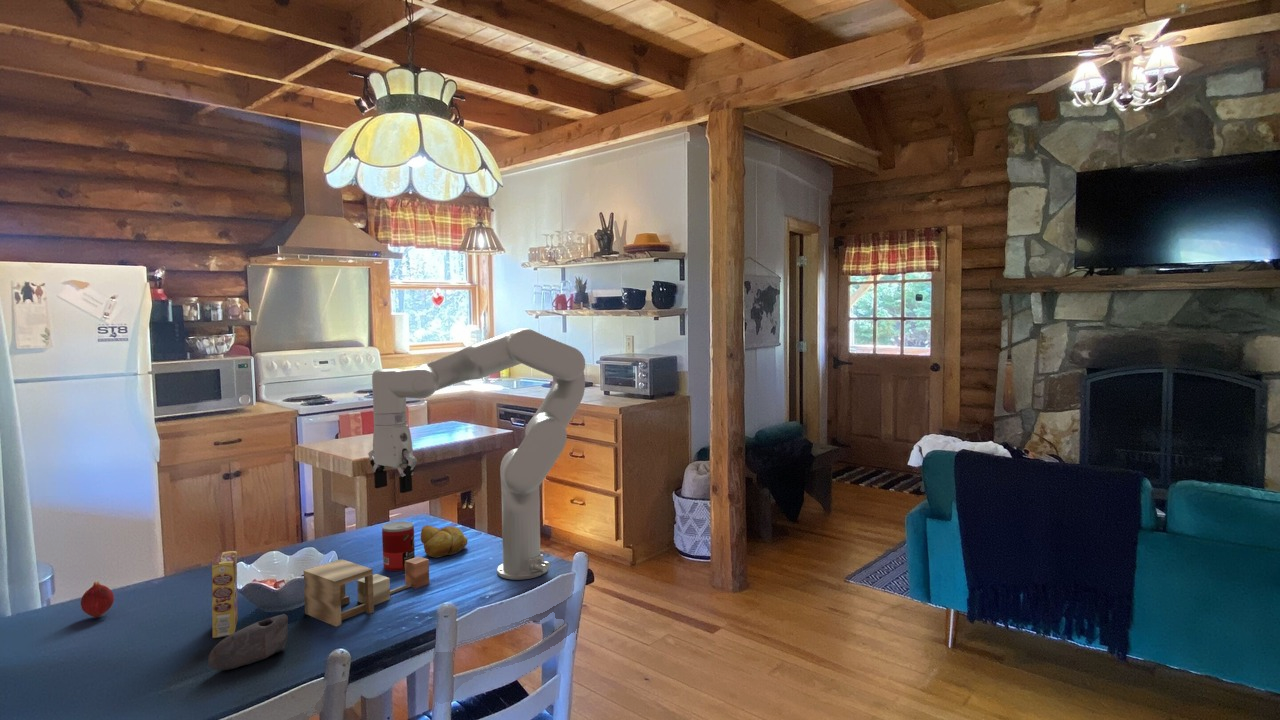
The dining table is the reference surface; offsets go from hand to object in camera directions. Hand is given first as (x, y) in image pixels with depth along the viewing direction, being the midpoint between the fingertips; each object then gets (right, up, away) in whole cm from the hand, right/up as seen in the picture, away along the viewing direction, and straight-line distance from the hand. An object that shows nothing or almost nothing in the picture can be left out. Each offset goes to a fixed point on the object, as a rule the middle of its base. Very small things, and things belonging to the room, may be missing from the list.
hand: (393, 489), depth 171 cm
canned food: (-3, -23, +14) cm, 27 cm away
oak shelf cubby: (-6, -24, -16) cm, 30 cm away
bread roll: (+6, -22, +25) cm, 34 cm away
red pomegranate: (-59, -25, -17) cm, 66 cm away
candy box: (-27, -25, -23) cm, 44 cm away
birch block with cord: (+2, -24, -4) cm, 24 cm away
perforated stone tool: (-14, -26, -37) cm, 48 cm away
